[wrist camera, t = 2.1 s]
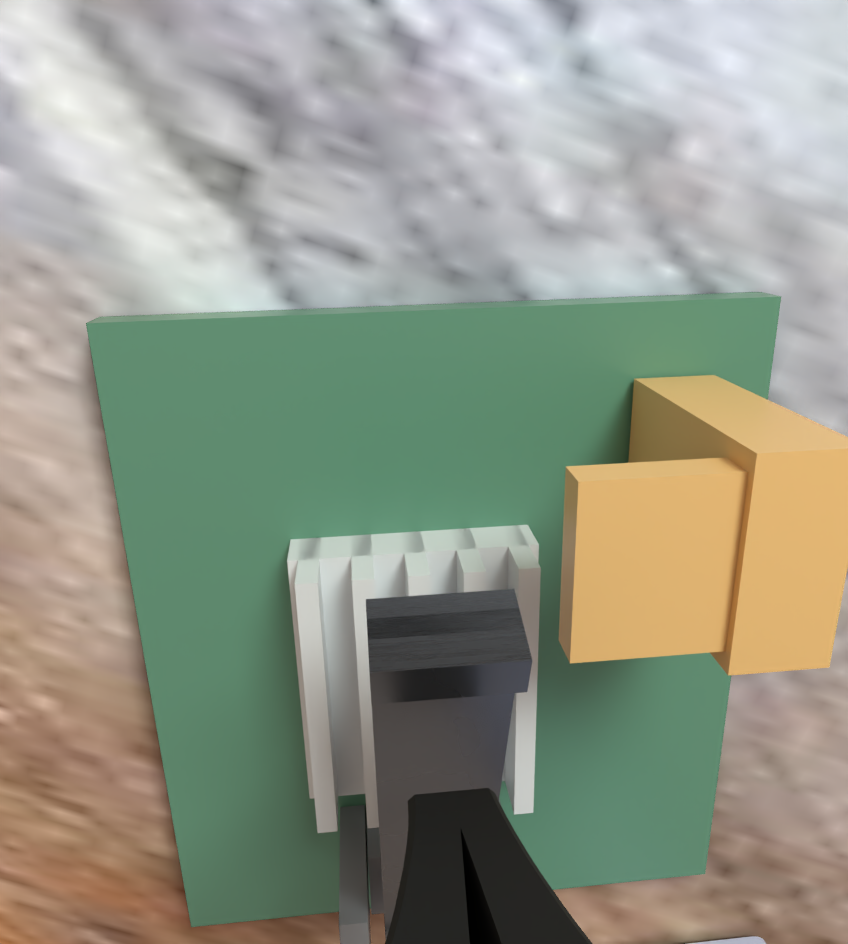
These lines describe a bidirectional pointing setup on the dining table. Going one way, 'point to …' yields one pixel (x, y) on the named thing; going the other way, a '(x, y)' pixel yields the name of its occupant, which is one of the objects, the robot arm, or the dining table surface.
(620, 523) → the clip
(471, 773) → the strap
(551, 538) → the board
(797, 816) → the dining table surface
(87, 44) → the dining table surface
